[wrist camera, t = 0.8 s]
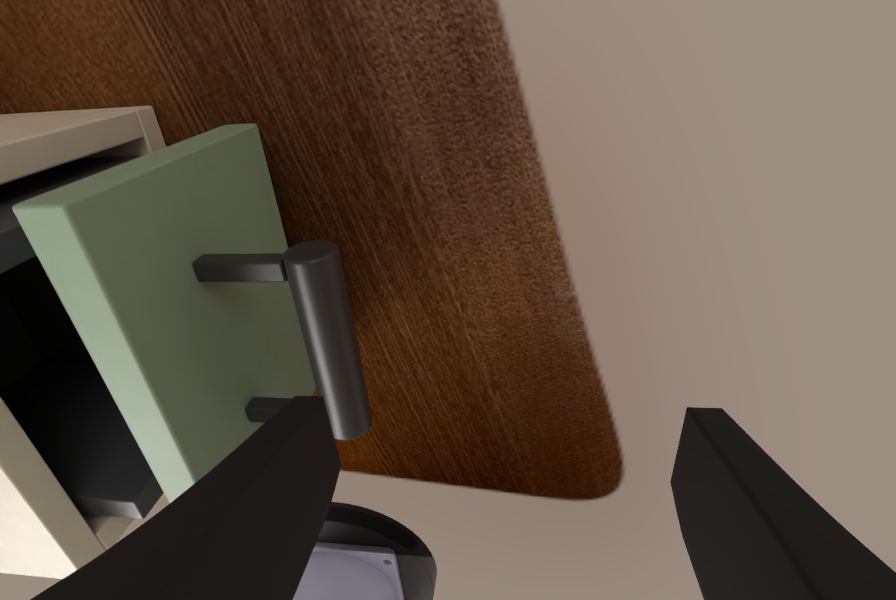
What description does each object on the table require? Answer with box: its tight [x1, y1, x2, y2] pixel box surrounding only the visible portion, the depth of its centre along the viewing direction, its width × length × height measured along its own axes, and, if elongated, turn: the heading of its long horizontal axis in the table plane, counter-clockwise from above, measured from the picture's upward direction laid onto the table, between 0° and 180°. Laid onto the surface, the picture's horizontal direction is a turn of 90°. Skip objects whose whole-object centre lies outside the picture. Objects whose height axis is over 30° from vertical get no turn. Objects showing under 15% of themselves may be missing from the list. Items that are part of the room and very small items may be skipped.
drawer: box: [0, 123, 372, 519], centre depth 16 cm, size 16×11×8 cm, turn 94°
